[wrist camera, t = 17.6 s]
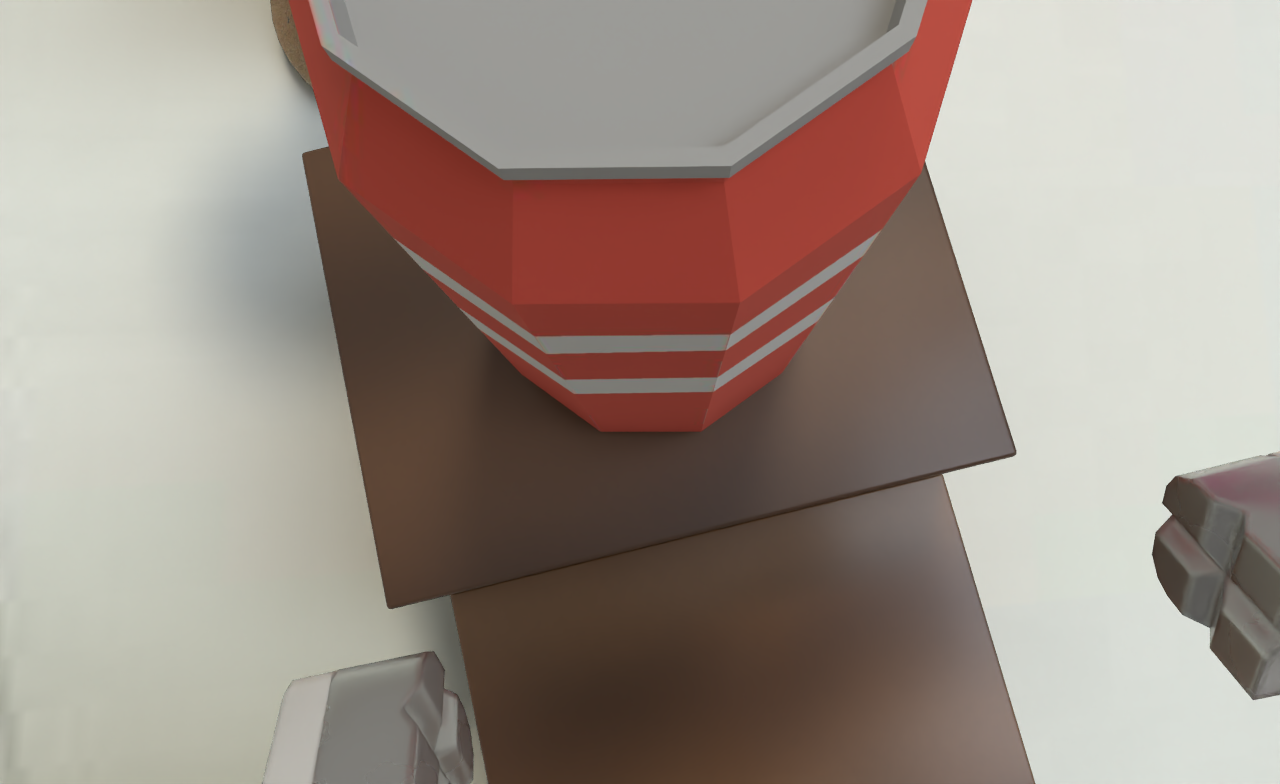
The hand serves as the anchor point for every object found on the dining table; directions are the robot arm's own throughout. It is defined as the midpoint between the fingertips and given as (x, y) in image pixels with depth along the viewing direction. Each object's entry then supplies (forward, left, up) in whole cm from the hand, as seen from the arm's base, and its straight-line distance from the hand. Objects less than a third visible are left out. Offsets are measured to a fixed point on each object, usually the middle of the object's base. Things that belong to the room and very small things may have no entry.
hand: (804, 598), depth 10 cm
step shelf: (+1, +2, -17) cm, 17 cm away
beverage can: (+4, +4, -8) cm, 10 cm away
